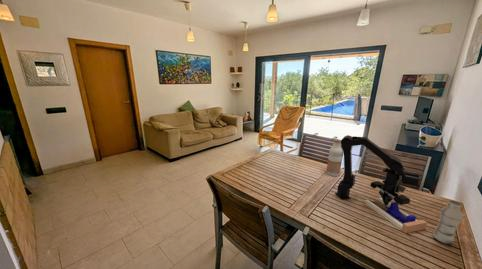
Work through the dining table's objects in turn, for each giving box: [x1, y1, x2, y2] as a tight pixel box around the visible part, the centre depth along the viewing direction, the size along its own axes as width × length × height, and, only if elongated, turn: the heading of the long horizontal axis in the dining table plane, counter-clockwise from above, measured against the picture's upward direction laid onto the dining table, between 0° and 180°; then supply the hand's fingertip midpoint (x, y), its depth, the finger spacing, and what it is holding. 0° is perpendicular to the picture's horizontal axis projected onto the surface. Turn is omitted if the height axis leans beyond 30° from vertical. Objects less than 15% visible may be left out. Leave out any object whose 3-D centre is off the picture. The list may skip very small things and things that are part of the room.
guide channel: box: [364, 197, 428, 234], centre depth 103 cm, size 12×24×4 cm, turn 12°
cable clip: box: [385, 201, 417, 224], centre depth 100 cm, size 12×4×6 cm, turn 2°
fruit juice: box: [326, 138, 344, 177], centre depth 146 cm, size 9×9×28 cm
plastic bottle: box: [433, 200, 463, 245], centre depth 84 cm, size 6×7×20 cm
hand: (385, 205), depth 107 cm, fingers closed
